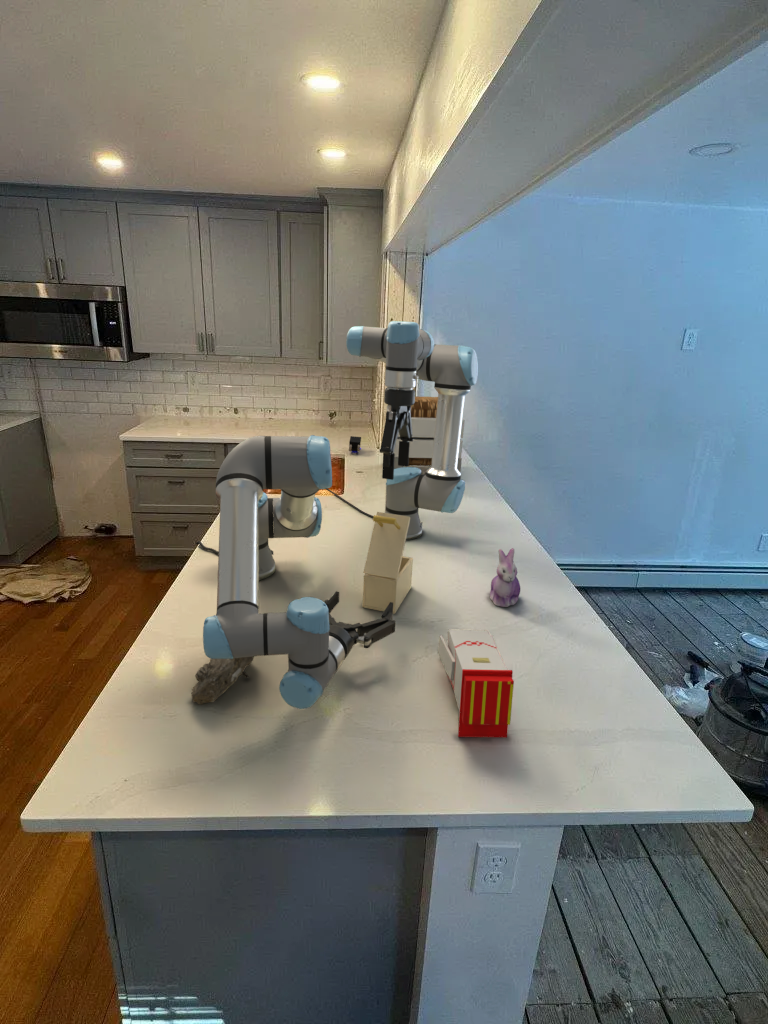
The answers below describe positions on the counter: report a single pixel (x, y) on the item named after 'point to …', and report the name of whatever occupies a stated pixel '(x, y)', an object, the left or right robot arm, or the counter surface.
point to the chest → (387, 588)
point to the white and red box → (478, 682)
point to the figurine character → (354, 444)
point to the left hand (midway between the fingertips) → (364, 601)
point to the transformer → (423, 433)
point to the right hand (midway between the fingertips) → (395, 472)
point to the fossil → (218, 678)
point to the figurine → (505, 581)
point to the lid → (386, 545)
